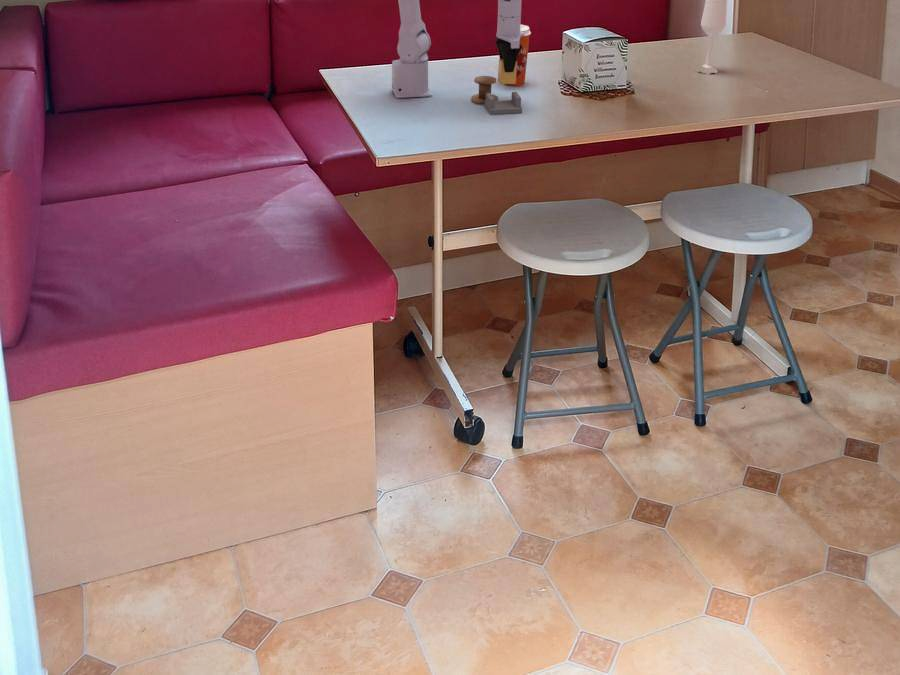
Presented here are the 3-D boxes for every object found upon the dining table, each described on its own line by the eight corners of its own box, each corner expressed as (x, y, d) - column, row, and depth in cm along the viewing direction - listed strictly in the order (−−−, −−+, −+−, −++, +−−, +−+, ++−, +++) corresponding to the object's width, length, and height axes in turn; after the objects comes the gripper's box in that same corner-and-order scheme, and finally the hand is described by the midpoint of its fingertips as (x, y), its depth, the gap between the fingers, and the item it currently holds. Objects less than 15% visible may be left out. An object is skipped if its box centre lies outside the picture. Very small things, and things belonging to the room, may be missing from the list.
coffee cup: (526, 88, 278) (528, 31, 270) (496, 86, 279) (497, 30, 272) (530, 79, 285) (533, 24, 278) (500, 77, 286) (502, 22, 279)
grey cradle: (490, 114, 259) (490, 100, 257) (484, 106, 265) (484, 92, 263) (521, 113, 260) (522, 99, 258) (515, 104, 266) (515, 90, 264)
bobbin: (474, 105, 265) (474, 83, 262) (468, 97, 271) (469, 75, 268) (500, 103, 266) (501, 82, 263) (494, 95, 272) (495, 74, 269)
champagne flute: (695, 73, 292) (706, -15, 279) (694, 67, 297) (705, -20, 285) (719, 75, 291) (732, -14, 279) (718, 68, 296) (730, -19, 284)
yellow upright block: (500, 84, 263) (501, 62, 260) (497, 80, 266) (499, 59, 263) (515, 83, 264) (517, 62, 261) (512, 80, 266) (514, 59, 264)
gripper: (532, 21, 251) (529, 77, 258) (517, 7, 263) (515, 61, 270) (504, 22, 250) (502, 78, 256) (490, 8, 262) (489, 62, 269)
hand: (507, 69), depth 263 cm, fingers closed on yellow upright block, 3 cm apart
